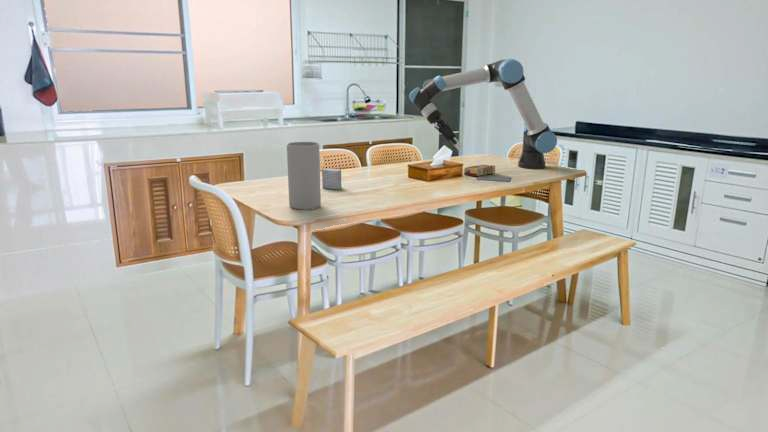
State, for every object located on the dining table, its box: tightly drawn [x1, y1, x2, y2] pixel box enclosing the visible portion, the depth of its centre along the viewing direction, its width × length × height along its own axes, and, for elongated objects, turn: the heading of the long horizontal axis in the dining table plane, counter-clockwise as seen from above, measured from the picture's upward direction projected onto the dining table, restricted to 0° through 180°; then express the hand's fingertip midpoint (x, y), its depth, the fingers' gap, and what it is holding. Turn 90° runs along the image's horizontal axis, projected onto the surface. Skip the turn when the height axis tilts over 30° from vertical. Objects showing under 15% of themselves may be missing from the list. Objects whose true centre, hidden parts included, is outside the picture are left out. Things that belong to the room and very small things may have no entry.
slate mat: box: [476, 174, 512, 183], centre depth 266 cm, size 16×12×1 cm
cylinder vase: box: [286, 141, 322, 210], centre depth 206 cm, size 12×12×25 cm
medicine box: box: [321, 168, 342, 190], centre depth 240 cm, size 8×4×9 cm, turn 71°
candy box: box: [463, 164, 496, 177], centre depth 275 cm, size 9×4×15 cm
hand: (460, 148), depth 267 cm, fingers closed
